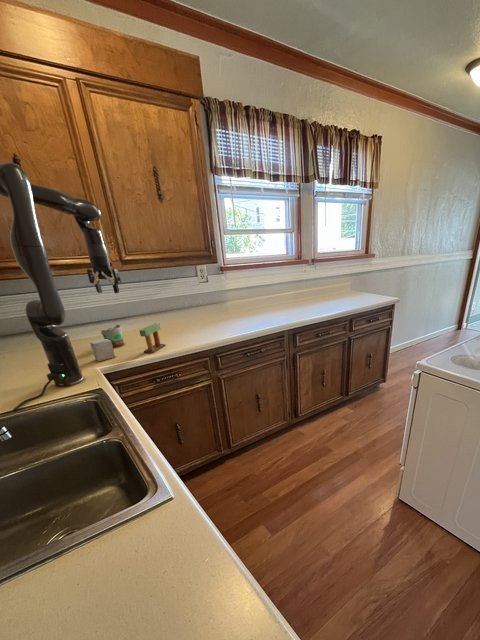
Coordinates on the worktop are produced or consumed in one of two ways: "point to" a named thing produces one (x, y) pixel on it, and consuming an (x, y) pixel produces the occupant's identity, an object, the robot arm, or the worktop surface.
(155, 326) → the bar
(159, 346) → the rod stand
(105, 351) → the medicine box
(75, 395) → the worktop surface
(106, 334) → the food container
